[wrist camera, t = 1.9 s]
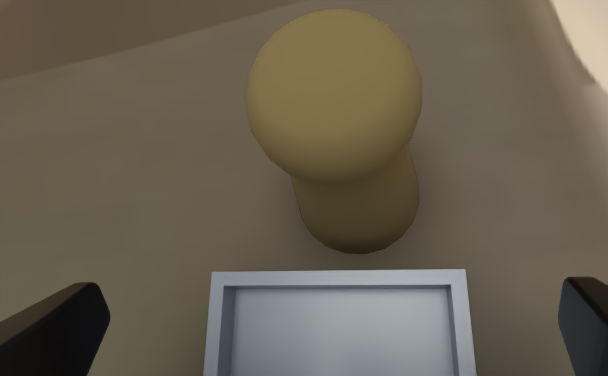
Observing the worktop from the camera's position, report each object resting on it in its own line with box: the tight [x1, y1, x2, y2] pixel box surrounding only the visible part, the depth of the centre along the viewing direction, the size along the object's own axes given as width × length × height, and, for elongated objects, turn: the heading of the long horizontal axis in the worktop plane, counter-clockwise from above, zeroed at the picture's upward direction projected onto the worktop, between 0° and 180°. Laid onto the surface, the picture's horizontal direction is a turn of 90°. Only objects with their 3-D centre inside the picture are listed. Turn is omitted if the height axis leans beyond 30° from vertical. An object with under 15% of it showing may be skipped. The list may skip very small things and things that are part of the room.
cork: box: [245, 9, 422, 254], centre depth 16 cm, size 6×6×11 cm
